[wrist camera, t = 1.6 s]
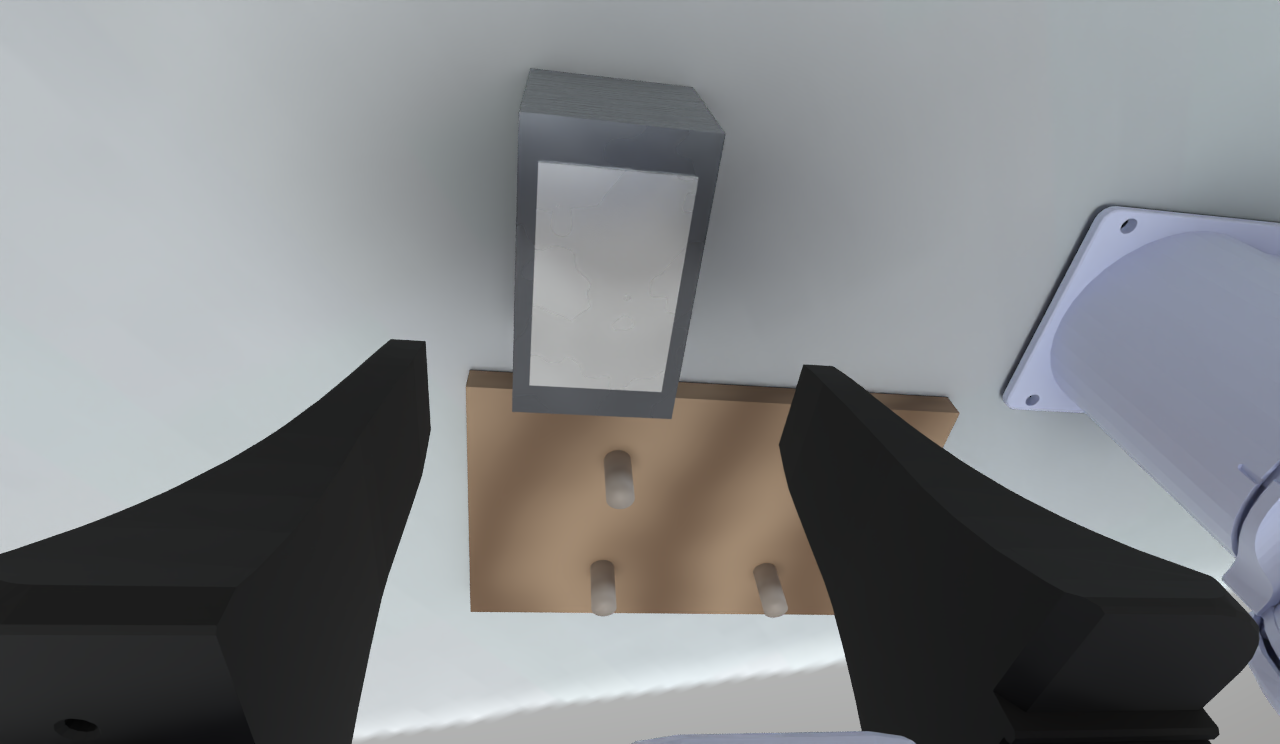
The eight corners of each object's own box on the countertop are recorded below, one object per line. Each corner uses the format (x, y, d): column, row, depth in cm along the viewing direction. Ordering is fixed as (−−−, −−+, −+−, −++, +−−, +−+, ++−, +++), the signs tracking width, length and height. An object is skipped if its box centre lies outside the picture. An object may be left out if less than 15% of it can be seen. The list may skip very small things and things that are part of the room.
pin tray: (947, 397, 26) (986, 448, 23) (853, 597, 32) (877, 653, 30) (469, 370, 23) (457, 423, 21) (473, 592, 30) (464, 653, 28)
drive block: (692, 86, 19) (726, 135, 15) (654, 330, 23) (671, 421, 19) (530, 67, 18) (518, 112, 14) (522, 321, 23) (511, 414, 19)
